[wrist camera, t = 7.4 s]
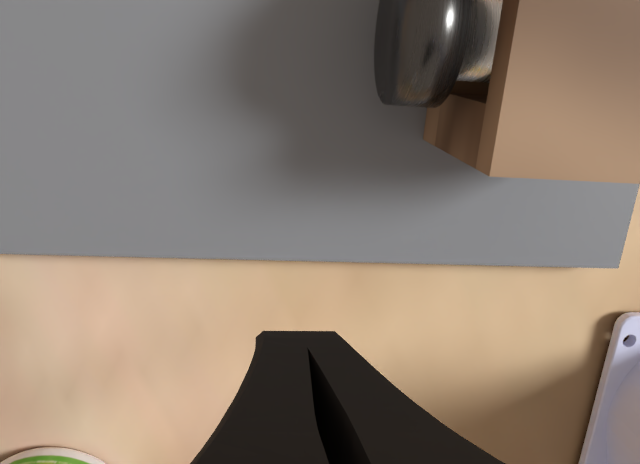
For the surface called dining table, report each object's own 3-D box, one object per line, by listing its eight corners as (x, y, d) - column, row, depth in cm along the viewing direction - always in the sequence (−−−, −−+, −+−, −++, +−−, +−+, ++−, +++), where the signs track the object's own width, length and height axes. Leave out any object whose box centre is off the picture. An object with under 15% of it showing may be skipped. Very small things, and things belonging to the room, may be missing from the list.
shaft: (705, 119, 18) (815, 139, 14) (368, 97, 16) (403, 113, 13) (740, -7, 17) (868, -18, 13) (383, -46, 15) (426, -69, 12)
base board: (601, 258, 21) (618, 268, 20) (1, 242, 18) (-12, 253, 17) (712, -203, 17) (740, -217, 16) (-52, -329, 14) (-73, -356, 13)
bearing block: (575, 148, 18) (689, 186, 14) (422, 139, 18) (489, 176, 13) (621, -63, 17) (768, -100, 12) (452, -83, 16) (541, -130, 11)
